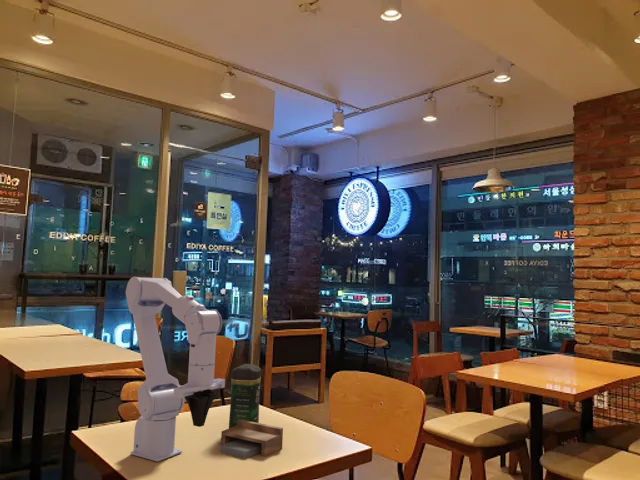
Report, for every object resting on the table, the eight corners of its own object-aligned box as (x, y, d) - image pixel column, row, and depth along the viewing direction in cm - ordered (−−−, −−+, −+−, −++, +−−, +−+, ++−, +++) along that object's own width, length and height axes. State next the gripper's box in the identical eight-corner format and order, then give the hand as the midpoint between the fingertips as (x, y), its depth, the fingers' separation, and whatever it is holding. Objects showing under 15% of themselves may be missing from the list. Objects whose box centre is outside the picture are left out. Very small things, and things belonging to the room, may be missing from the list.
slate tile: (220, 454, 123) (220, 445, 123) (240, 445, 130) (241, 437, 130) (245, 460, 119) (246, 451, 119) (265, 451, 126) (265, 443, 126)
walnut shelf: (220, 445, 127) (221, 425, 128) (239, 438, 134) (239, 419, 134) (265, 456, 121) (266, 435, 121) (282, 447, 127) (282, 427, 128)
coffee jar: (253, 437, 135) (256, 368, 137) (225, 435, 136) (228, 366, 138) (261, 427, 145) (264, 362, 147) (235, 425, 146) (238, 361, 147)
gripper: (192, 370, 103) (188, 436, 102) (236, 361, 116) (233, 421, 115) (167, 366, 107) (164, 430, 106) (213, 358, 120) (210, 416, 118)
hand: (198, 425), depth 111 cm, fingers closed
